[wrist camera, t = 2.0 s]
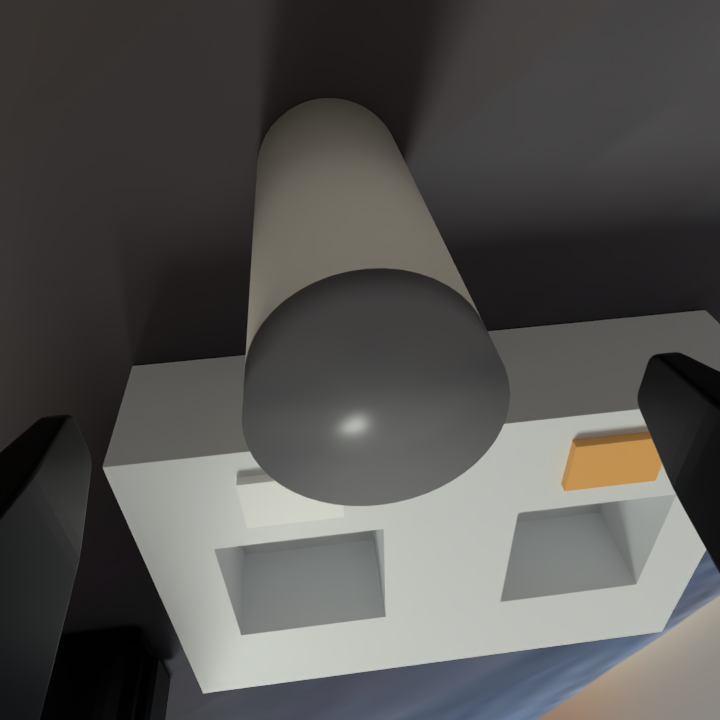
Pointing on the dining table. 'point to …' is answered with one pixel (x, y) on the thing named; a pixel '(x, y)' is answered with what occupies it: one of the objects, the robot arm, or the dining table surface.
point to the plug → (359, 321)
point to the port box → (415, 520)
